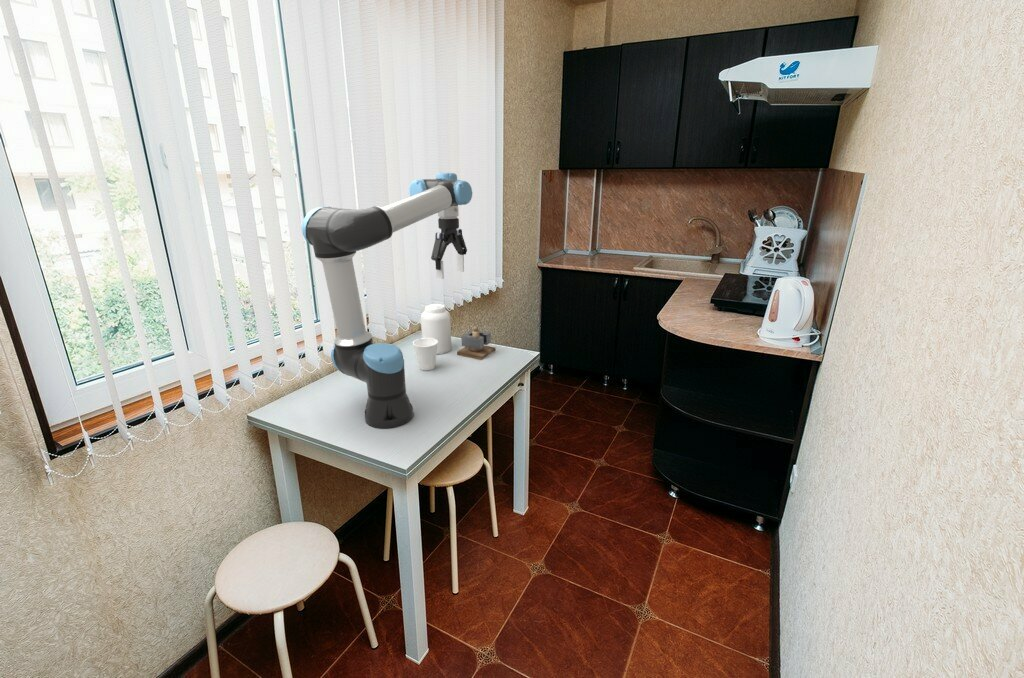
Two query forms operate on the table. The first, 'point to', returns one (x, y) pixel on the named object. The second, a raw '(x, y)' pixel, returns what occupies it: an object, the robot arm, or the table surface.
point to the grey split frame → (476, 340)
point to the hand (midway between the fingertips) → (450, 274)
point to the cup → (425, 352)
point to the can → (437, 326)
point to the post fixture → (474, 352)
